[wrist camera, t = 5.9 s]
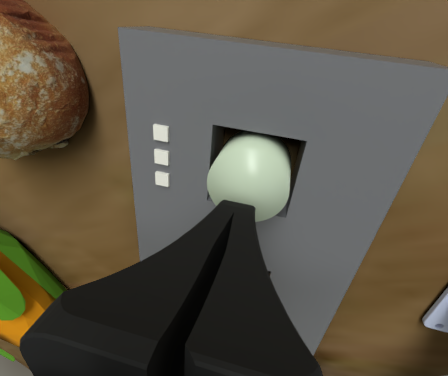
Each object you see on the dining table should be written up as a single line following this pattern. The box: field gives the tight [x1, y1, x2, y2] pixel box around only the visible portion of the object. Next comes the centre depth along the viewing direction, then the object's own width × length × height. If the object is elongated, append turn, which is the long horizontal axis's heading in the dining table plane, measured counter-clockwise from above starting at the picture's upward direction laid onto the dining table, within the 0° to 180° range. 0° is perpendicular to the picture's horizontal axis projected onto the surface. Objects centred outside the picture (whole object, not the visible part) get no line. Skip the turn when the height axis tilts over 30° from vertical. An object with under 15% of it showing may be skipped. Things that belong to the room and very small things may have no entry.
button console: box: [118, 26, 448, 355], centre depth 20 cm, size 14×30×3 cm, turn 174°
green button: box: [207, 130, 291, 222], centre depth 14 cm, size 4×4×3 cm
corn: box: [0, 229, 67, 361], centre depth 27 cm, size 7×8×20 cm
